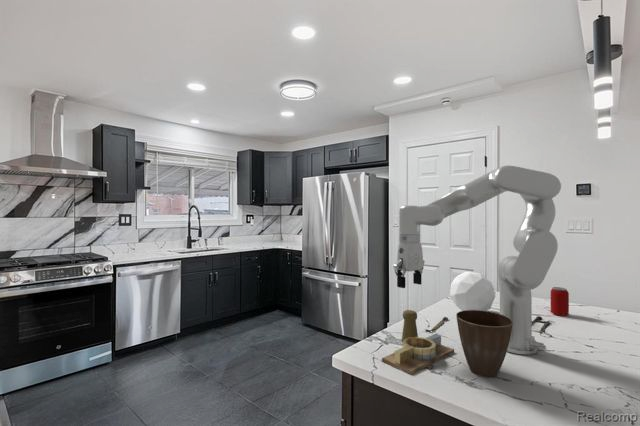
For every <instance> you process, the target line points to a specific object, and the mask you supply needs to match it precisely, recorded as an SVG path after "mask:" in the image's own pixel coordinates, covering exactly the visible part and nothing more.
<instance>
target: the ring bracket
mask: <svg viewBox="0 0 640 426" xmlns="http://www.w3.org/2000/svg"><path fill="white" fill-rule="evenodd" d="M441 345H442V335H441V334H438V333H436V334H432V335H429V336H427V337H419V336H418V337H409V338H406V339H404V341H402V348H399V349H396V350H394V353H395V363H397V364H399V365H401V364H403V363H405V362H407V361H409V360H411V359H415V360H421V361H422V360H423V361H425V360H432V359H434V358H435V355H436V348H437V347H439V346H441Z"/></svg>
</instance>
